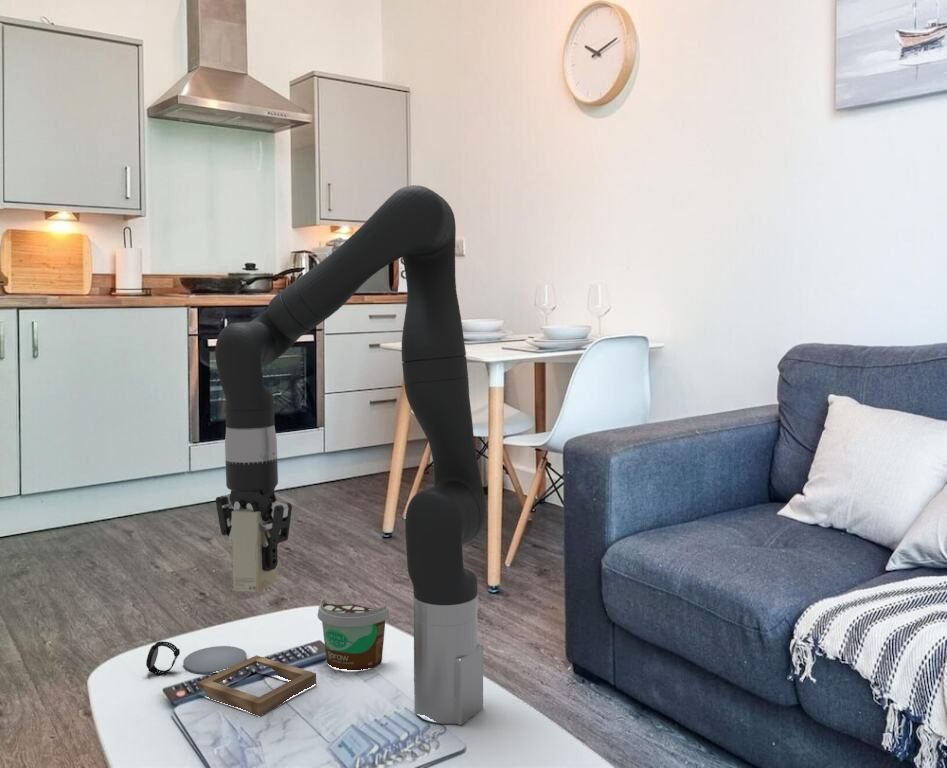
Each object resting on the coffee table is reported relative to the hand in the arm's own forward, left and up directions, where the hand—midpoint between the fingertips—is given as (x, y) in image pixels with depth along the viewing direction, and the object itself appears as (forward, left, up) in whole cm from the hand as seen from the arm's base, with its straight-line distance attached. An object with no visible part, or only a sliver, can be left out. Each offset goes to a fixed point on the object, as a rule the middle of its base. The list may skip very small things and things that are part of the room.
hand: (255, 566), depth 130 cm
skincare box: (0, 0, -3) cm, 3 cm away
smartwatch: (+18, +4, -20) cm, 27 cm away
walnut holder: (0, 0, -19) cm, 19 cm away
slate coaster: (+14, -4, -19) cm, 24 cm away
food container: (-6, -14, -20) cm, 25 cm away
